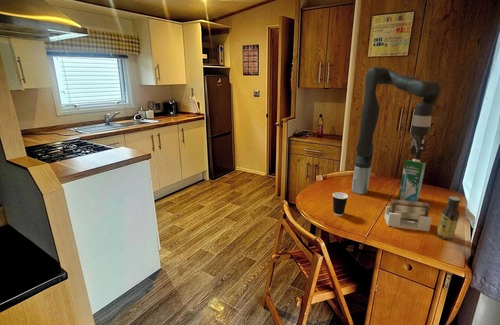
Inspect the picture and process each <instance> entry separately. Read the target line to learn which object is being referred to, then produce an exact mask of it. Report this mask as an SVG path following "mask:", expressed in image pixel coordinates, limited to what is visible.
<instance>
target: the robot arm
mask: <svg viewBox="0 0 500 325" xmlns="http://www.w3.org/2000/svg"><path fill="white" fill-rule="evenodd" d="M364 83H365V85H364V97H363V103H362V104H363V106H362V111H361V120H360V128H359V129H360V130H359V136H358V141H357V144H356V147H355V151H356V156H355V161H354V170H353V176H352V183H351V192H352V193H354V194H357V195H366V194H368V191H369V190H368V189H369V182H370V174H371V167H372V162H373V154H374V144H373V138H374V134H375V130H376V127H377V125H378V122H379V115H380V112H381V111H380V109H381V108H380V104H379V101H378V98H377V93H376V91H377V86H378V85H390V86H391V85H392V86H393V87H395V88H396V89H398V90H400V91H403V92H407V93H410V94H411V95H413V96H415V97H417V98H422V100H421V101H420V102H418V103H416V105H415V110H414V116H413V118H412V123H411V129H410V134H411V138H410V143H409V145H410V155H411V156H415V157H414V159H416V160H420V161H421V159H422V154H423V153H424V152H425V151H426V150H425V149H426V144H427V139H425V136H429V134H430V130H431V129H430V128H431V125H432V115H433V110H434V106H435V104H436V103H437V100H438V98H439V96H440V93H441V84H440V83H439V82H437V81H432V80H431V81H425V80H424V81H423V80H420V79H419V78H417V77H413V76H408V75H405V74H400V73H397V72H395V71H392V70H390V69H388V68H387V67H382V66H372V67H370V68H368V70H367V72H366V74H365V82H364Z"/></svg>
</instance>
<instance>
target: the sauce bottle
mask: <svg viewBox="0 0 500 325" xmlns="http://www.w3.org/2000/svg"><path fill="white" fill-rule="evenodd" d="M447 201H448V202H447V205H446V206H445V208H444V209H443V210H442V212H441V215H440V218H439V221H438V222H439V223H438V227H437V229H436V230H437V231H436V235H437V236H438V237H439V238H440V239H442V240H446V241H451V240H453V238H454V236H455V232H456V230H457V229H456V228H457V225H458V221H459V217H460V212H459V209H458V208H459V205H460V203H461V198H459V197H457V196H448V200H447Z"/></svg>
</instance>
